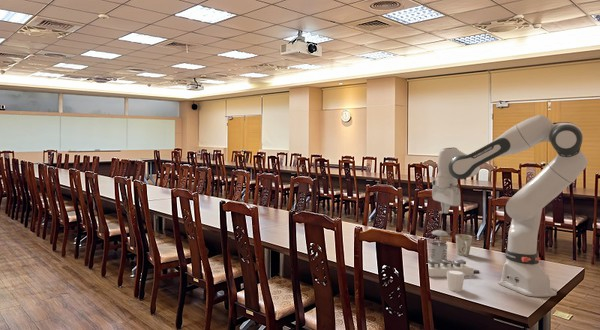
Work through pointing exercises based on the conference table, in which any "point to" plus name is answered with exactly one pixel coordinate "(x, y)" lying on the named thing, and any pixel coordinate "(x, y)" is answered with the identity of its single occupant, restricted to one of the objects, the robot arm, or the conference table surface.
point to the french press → (436, 250)
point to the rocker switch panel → (442, 269)
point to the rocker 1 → (433, 262)
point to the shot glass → (455, 280)
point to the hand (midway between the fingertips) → (445, 212)
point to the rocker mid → (446, 262)
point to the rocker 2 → (459, 262)
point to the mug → (463, 244)
